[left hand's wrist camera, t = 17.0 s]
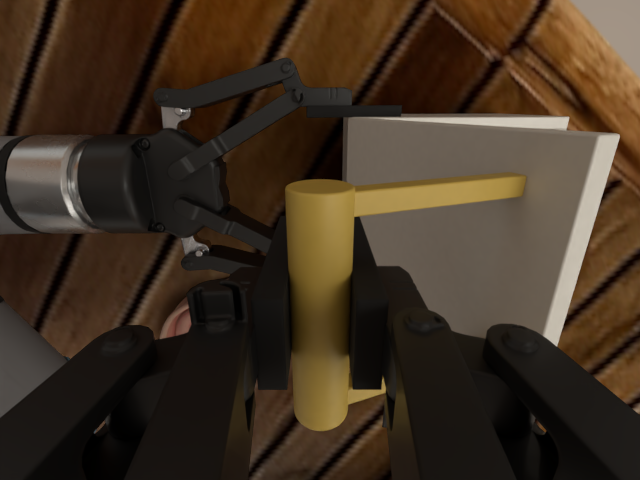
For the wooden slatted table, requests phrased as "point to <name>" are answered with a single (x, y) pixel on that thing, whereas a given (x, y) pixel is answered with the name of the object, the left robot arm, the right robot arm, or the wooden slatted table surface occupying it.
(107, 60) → the wooden slatted table surface
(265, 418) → the wooden slatted table surface
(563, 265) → the lid
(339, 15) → the wooden slatted table surface
